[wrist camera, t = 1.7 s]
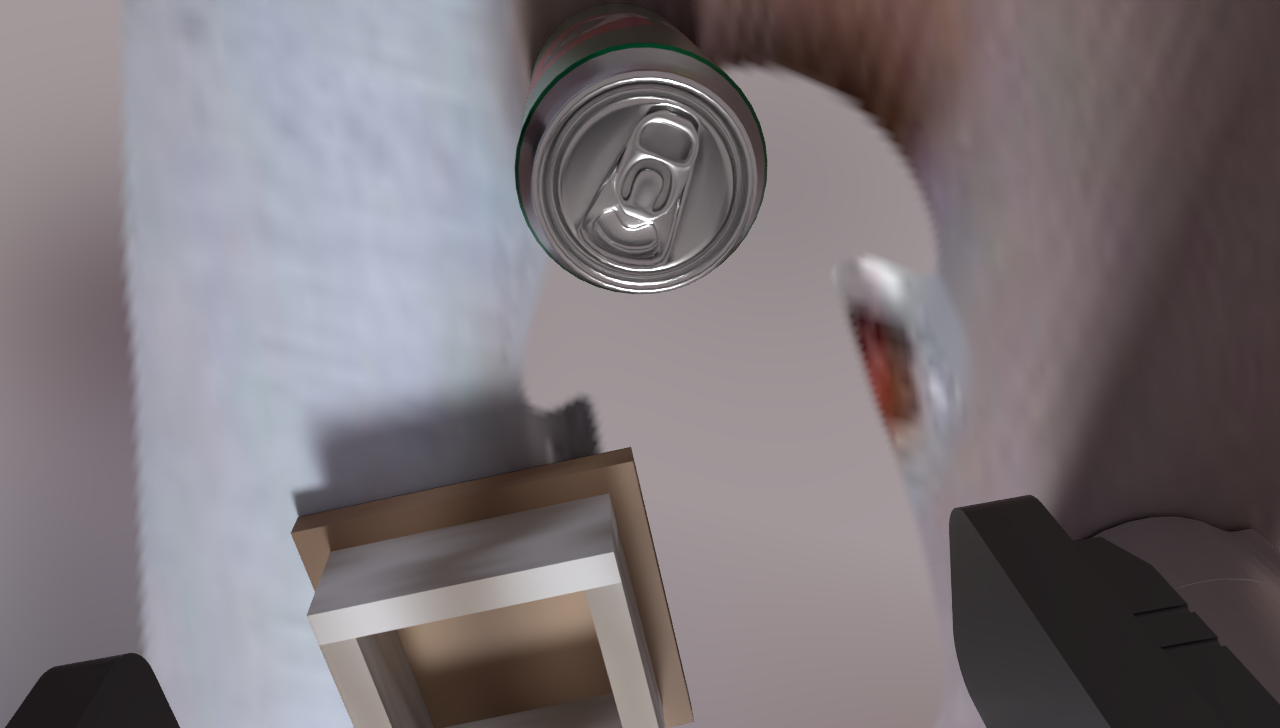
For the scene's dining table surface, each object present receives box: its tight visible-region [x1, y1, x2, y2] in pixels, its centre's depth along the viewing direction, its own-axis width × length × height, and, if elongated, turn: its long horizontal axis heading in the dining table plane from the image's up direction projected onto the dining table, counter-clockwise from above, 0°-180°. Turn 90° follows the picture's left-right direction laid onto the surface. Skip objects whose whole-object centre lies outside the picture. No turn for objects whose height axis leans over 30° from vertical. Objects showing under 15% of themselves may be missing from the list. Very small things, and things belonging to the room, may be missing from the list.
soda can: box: [515, 3, 767, 294], centre depth 24 cm, size 5×5×12 cm
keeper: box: [291, 447, 694, 728], centre depth 35 cm, size 12×12×4 cm
